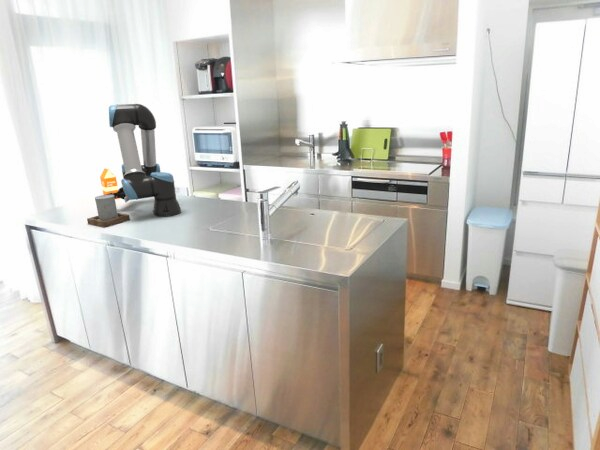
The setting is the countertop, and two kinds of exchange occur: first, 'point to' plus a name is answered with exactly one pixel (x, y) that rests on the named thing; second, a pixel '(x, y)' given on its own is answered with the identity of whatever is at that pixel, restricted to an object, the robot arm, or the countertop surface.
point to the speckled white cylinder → (106, 207)
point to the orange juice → (108, 182)
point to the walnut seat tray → (110, 222)
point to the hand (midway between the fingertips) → (112, 200)
